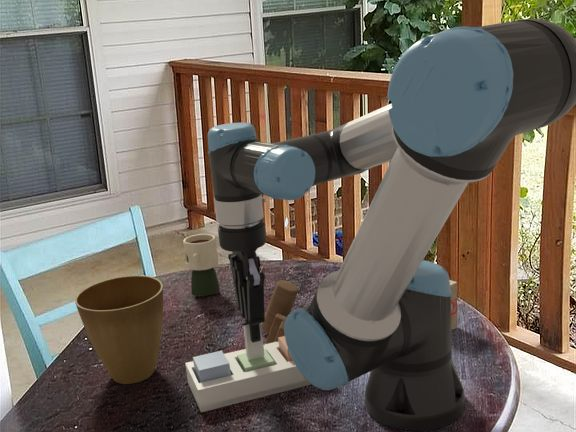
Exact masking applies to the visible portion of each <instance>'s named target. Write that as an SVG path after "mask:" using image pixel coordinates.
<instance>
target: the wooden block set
mask: <svg viewBox="0 0 576 432" xmlns="http://www.w3.org/2000/svg"><path fill="white" fill-rule="evenodd" d="M298 294H299V287H298V286H297V284H295V283H294V282H291V281H288V280H283V279H281V280H278V281H277V282H276V283H275V287H274V290H273V292H272V295H271V297H270V300H269V303H268V306H267V309H266V312H265V313H264V315H265V322H263V323H261V327H262V331H264V332H266V333H267V334H268V335H267V336H266V337H267V338H266V340H265V344H269V343H273V342H278V337H283V336H285V335H284V325H285V320H286V318H287V316H288V315H289V314H290V313H291V312H292V309H293V306H294V304H295V301H296V299H297V296H298ZM299 307H301V308H303V307H305V306H303V305H299Z"/></svg>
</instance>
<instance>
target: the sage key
mask: <svg viewBox="0 0 576 432" xmlns="http://www.w3.org/2000/svg"><path fill="white" fill-rule="evenodd" d="M237 359H238V364H239V365H240V367H241V369H242V370H243V372H247V371H252V370H256V369H260V368H264V367H268V366H272V365H274V360H273V359H272V358H271V356H270V355H269V353H268V352H267V351H266V349H264V356H263V357H258V358H254V359H250V360H249V359H248V357H247V355H246V353H244V354H240V355H237Z"/></svg>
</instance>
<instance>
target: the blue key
mask: <svg viewBox="0 0 576 432" xmlns="http://www.w3.org/2000/svg"><path fill="white" fill-rule="evenodd" d="M224 354H225V353H224V352H223V350H218V351H214V352H209V353H205V354H201V355H196V356H192V361H193V363H194V370H195V376H196V378H197V380H198V382H199V383H202V382H206V381H210V380H214V379H218V378H223V377H227V376H231V372H230V364H229V362H228V360H227V358H226V357H225V355H224Z"/></svg>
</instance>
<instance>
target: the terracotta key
mask: <svg viewBox="0 0 576 432" xmlns="http://www.w3.org/2000/svg"><path fill="white" fill-rule="evenodd" d="M278 343H279V352H280V353H281V355H282V356H283V357H284V359H285V360H286V361H287V362H289V361H293V360H292V358H291V355H290V353H289V350H288V347H287V344H286V340H285V336H283V337H278Z"/></svg>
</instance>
